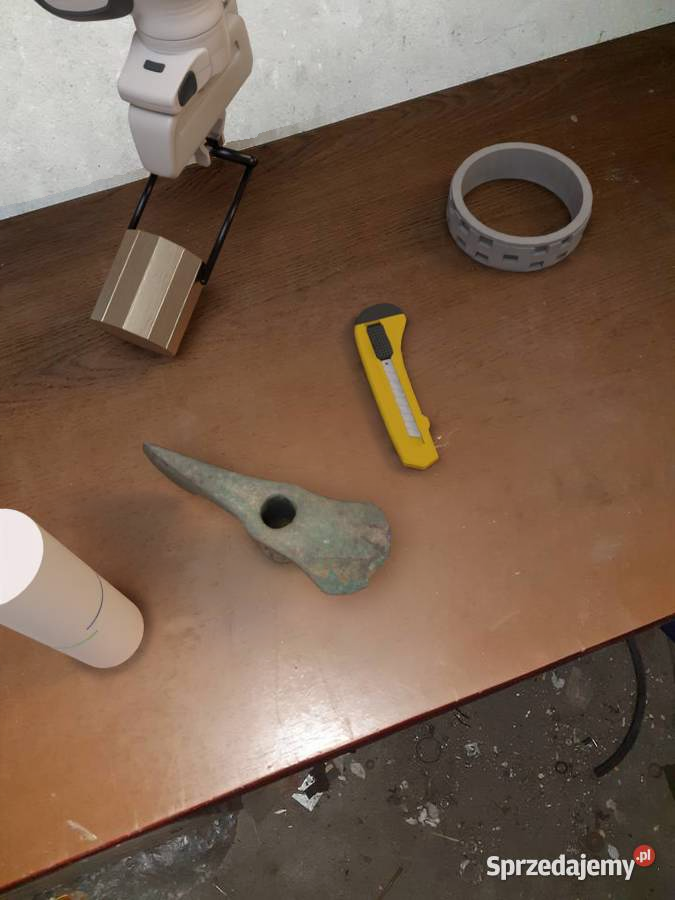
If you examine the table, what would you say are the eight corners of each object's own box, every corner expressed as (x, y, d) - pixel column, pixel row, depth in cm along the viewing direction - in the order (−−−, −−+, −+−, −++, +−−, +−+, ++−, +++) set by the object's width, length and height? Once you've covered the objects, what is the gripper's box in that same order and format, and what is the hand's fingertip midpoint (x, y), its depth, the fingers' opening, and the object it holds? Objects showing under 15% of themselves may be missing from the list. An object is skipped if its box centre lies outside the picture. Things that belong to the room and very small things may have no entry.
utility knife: (397, 305, 87) (398, 295, 85) (460, 461, 77) (463, 454, 75) (345, 318, 86) (344, 308, 84) (402, 477, 76) (403, 470, 75)
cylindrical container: (157, 616, 70) (64, 535, 48) (116, 681, 68) (-3, 628, 45) (100, 584, 72) (-16, 492, 49) (58, 647, 69) (-85, 579, 47)
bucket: (195, 366, 83) (162, 342, 74) (107, 335, 86) (63, 308, 76) (270, 179, 85) (247, 132, 76) (182, 154, 88) (149, 104, 78)
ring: (420, 199, 94) (423, 170, 90) (532, 154, 98) (540, 123, 93) (493, 293, 87) (500, 266, 83) (610, 240, 90) (624, 212, 86)
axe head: (137, 519, 75) (107, 483, 66) (184, 447, 79) (162, 404, 70) (361, 632, 69) (361, 609, 60) (401, 549, 73) (407, 516, 64)
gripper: (205, -24, 74) (226, 92, 87) (106, 96, 66) (146, 205, 79) (257, -11, 73) (272, 104, 86) (164, 112, 65) (195, 220, 78)
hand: (211, 154), depth 82 cm, fingers closed on bucket
